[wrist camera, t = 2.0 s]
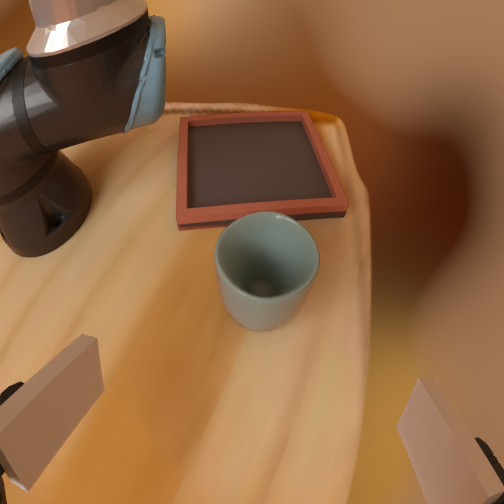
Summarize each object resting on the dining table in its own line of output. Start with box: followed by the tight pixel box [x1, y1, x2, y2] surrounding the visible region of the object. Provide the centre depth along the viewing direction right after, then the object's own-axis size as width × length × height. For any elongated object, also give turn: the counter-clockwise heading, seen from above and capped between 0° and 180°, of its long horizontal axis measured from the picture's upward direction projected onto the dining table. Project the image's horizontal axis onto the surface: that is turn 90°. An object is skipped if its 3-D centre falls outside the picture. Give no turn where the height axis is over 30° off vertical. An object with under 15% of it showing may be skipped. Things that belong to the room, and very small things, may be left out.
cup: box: [214, 211, 320, 332], centre depth 27 cm, size 8×8×10 cm
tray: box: [176, 111, 349, 231], centre depth 41 cm, size 20×20×2 cm
